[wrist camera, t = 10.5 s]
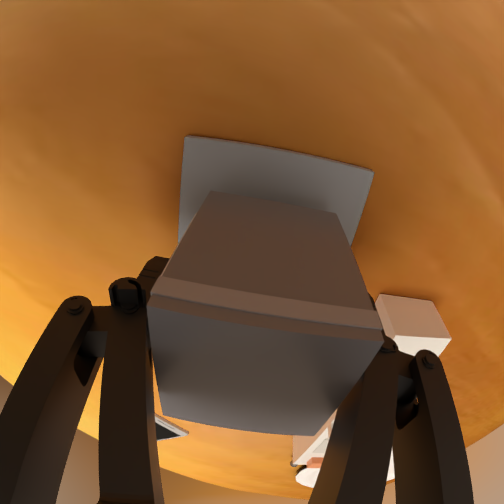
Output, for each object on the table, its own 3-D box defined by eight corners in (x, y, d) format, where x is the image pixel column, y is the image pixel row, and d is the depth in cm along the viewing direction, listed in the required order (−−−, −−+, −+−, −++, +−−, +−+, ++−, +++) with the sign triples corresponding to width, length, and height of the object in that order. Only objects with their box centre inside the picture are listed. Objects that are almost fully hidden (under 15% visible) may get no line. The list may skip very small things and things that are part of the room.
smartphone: (99, 420, 37) (97, 424, 36) (147, 405, 31) (145, 411, 30) (134, 440, 39) (133, 444, 39) (190, 429, 33) (189, 435, 33)
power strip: (379, 293, 19) (400, 350, 15) (432, 300, 19) (457, 351, 15) (277, 456, 36) (276, 486, 32) (308, 458, 36) (308, 487, 32)
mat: (187, 135, 15) (184, 137, 14) (371, 169, 15) (374, 172, 14) (179, 284, 20) (177, 290, 19) (323, 308, 20) (324, 314, 19)
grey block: (209, 189, 14) (144, 303, 7) (337, 212, 14) (386, 340, 7) (200, 291, 17) (161, 415, 10) (306, 308, 17) (314, 436, 10)
